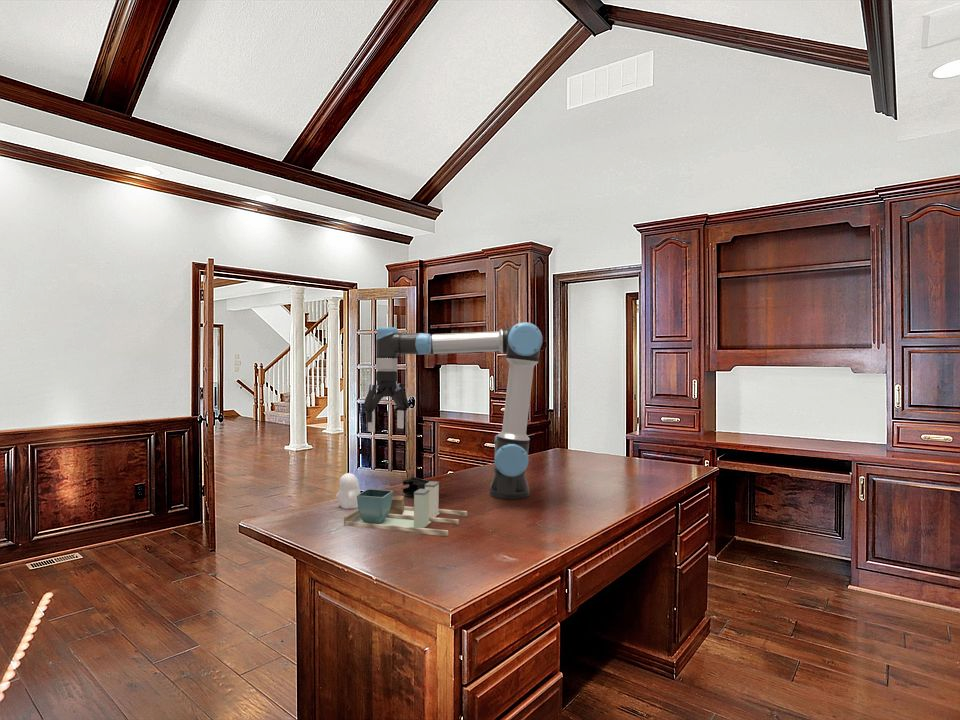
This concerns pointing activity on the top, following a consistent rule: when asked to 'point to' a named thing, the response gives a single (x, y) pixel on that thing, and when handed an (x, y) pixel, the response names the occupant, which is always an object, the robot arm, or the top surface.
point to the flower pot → (374, 505)
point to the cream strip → (430, 499)
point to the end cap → (413, 486)
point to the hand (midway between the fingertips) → (386, 429)
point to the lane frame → (355, 515)
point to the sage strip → (419, 512)
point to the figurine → (348, 491)
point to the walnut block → (397, 505)
